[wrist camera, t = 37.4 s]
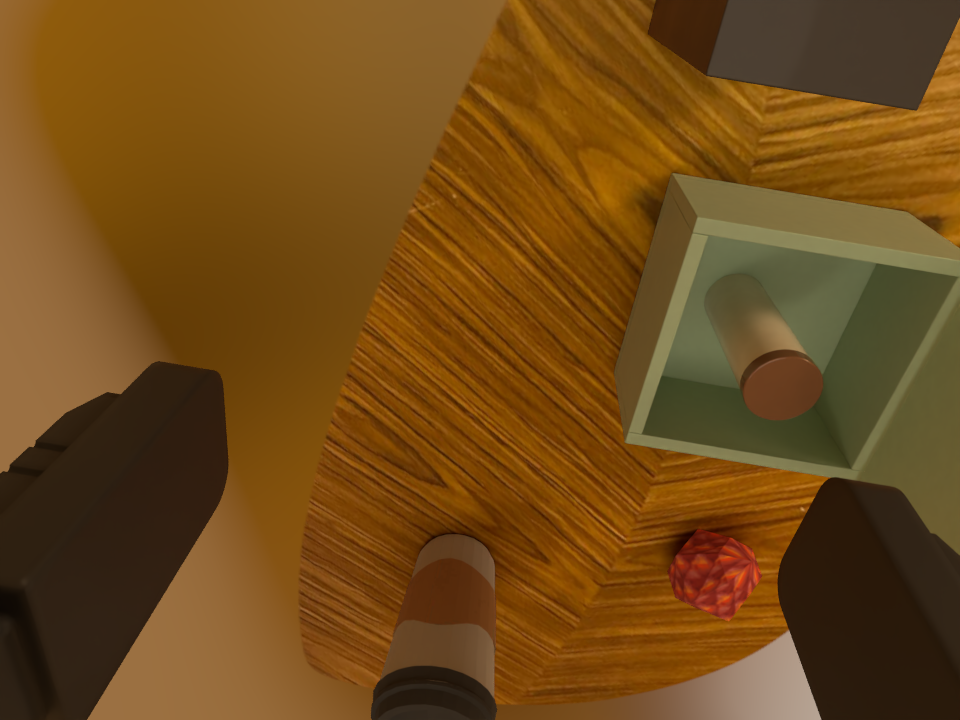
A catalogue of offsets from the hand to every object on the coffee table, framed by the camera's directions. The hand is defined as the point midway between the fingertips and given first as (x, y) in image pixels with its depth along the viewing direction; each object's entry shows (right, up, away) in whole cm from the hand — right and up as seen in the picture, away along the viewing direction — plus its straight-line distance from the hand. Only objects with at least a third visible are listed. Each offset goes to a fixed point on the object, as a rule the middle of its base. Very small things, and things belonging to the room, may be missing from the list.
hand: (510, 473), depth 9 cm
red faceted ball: (+17, -13, +44) cm, 49 cm away
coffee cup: (-2, -15, +47) cm, 49 cm away
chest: (+16, +5, +33) cm, 37 cm away
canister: (+15, +5, +32) cm, 36 cm away
